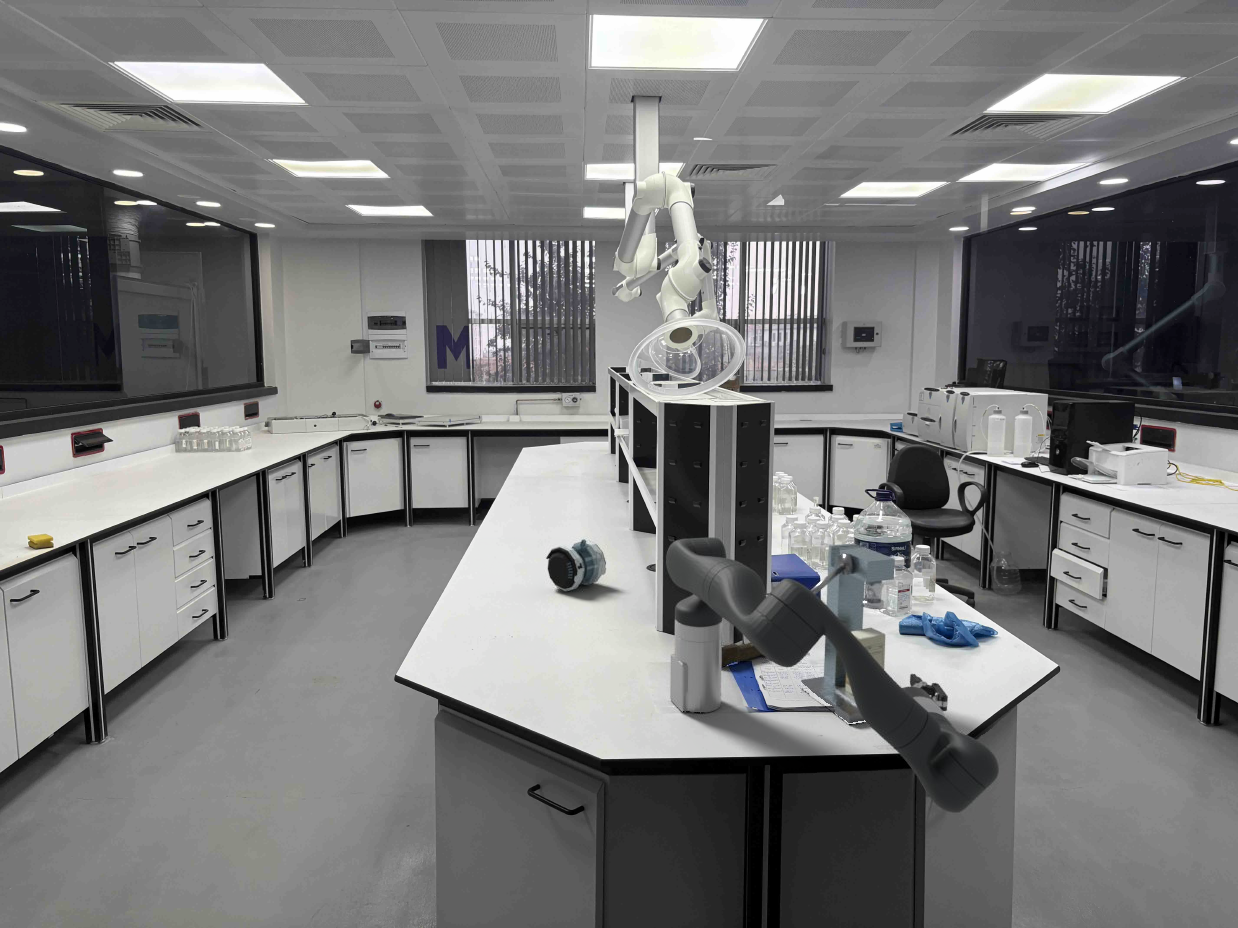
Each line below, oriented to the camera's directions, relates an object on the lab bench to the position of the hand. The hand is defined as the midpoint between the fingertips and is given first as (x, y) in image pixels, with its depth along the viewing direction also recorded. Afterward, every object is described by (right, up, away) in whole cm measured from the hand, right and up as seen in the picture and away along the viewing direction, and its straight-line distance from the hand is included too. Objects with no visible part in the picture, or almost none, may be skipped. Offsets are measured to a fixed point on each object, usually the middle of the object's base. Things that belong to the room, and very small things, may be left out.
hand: (888, 678), depth 144 cm
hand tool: (-19, -6, +37) cm, 42 cm away
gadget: (-61, +2, +92) cm, 110 cm away
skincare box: (0, -6, +13) cm, 15 cm away
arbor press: (-4, -9, +14) cm, 17 cm away
